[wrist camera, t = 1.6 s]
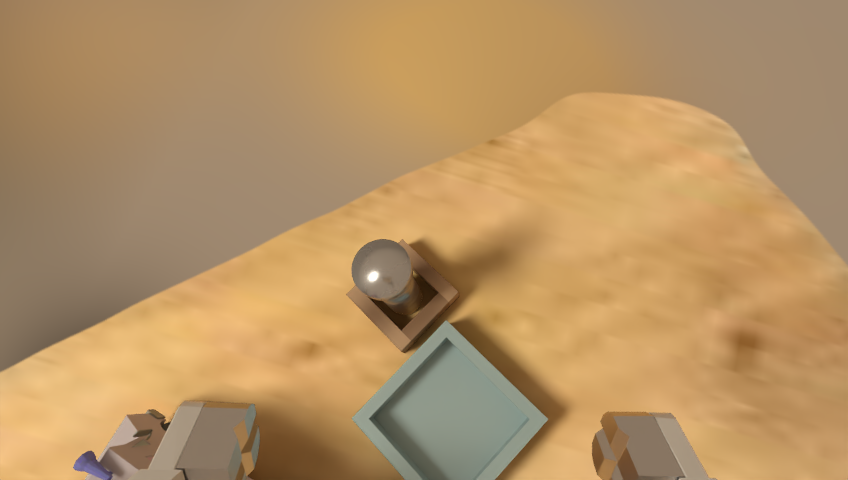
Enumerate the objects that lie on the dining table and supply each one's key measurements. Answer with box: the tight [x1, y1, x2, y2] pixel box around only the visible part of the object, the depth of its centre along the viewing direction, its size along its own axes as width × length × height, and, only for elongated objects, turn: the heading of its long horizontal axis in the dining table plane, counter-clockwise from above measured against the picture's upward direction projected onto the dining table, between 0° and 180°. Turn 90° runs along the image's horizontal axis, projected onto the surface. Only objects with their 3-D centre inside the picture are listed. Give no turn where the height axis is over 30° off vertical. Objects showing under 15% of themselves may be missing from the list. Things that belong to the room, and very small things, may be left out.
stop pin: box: [352, 239, 423, 315], centre depth 39 cm, size 4×4×11 cm
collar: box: [346, 239, 459, 353], centre depth 43 cm, size 7×7×2 cm
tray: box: [352, 320, 548, 480], centre depth 39 cm, size 11×11×2 cm
